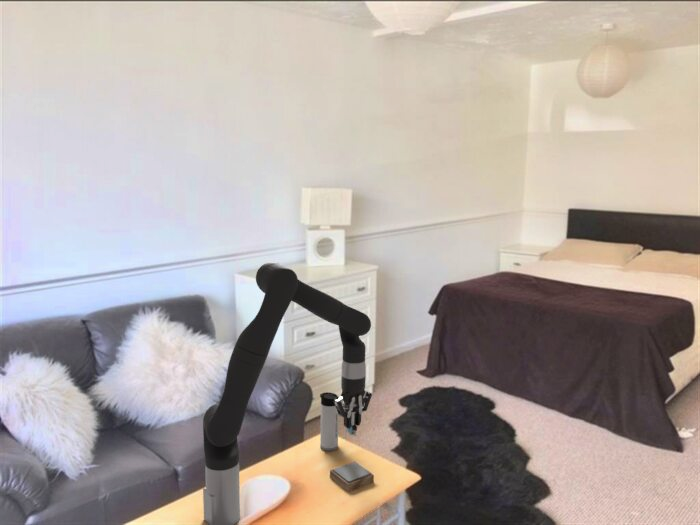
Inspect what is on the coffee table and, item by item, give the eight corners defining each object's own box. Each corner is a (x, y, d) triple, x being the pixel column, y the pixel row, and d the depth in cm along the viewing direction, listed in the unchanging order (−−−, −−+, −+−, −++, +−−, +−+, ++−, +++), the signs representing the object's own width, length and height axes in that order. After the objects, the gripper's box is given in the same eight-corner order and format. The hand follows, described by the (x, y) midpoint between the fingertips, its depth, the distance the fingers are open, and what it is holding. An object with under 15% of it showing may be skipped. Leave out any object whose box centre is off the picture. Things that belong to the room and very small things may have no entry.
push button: (362, 436, 175) (363, 405, 173) (346, 438, 173) (347, 407, 172) (356, 427, 181) (356, 397, 180) (340, 429, 180) (341, 399, 178)
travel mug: (317, 444, 203) (318, 391, 200) (335, 441, 205) (335, 389, 202) (321, 452, 197) (322, 398, 194) (339, 450, 199) (340, 396, 196)
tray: (348, 492, 173) (348, 483, 173) (329, 477, 181) (330, 468, 181) (373, 481, 179) (373, 473, 179) (354, 468, 187) (354, 460, 187)
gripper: (342, 382, 167) (341, 436, 170) (378, 373, 176) (377, 425, 178) (327, 374, 173) (327, 427, 176) (364, 366, 181) (362, 416, 184)
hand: (352, 425), depth 177 cm, fingers closed on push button, 3 cm apart
